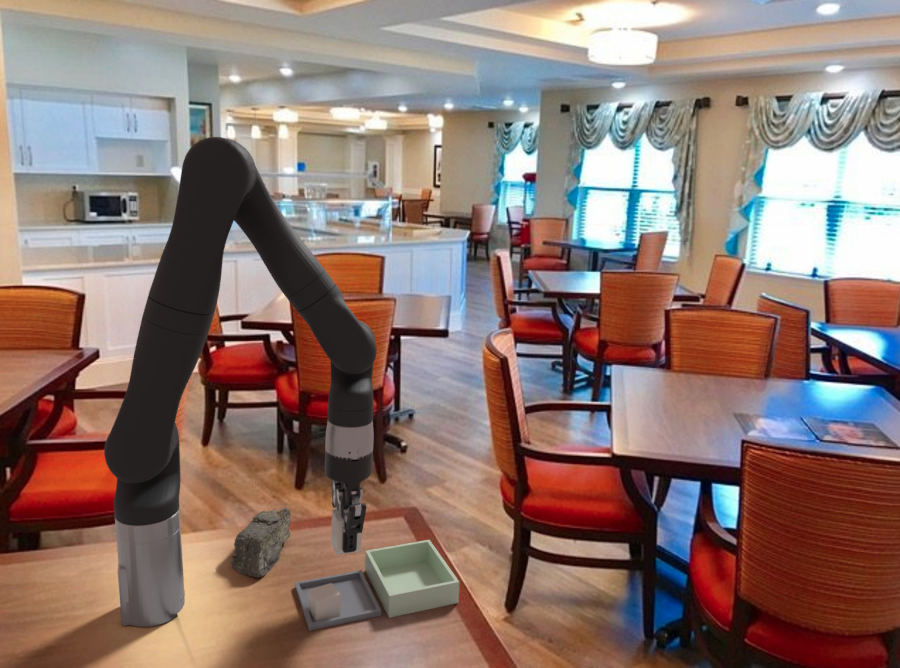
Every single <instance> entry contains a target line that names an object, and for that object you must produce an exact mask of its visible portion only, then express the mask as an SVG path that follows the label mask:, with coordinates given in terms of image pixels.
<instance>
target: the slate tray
mask: <svg viewBox="0 0 900 668" xmlns="http://www.w3.org/2000/svg"><path fill="white" fill-rule="evenodd" d="M329 583H332V584H333V586H334V587H335V588H336V589H337V591H338V592H339V593H340V617H335V618H330V619H325V620H321V621H316V622H315V621H314V620H313V619H312V617H311V616H310V614H309V611H308V590H309V589H313V588H316V587H319V586H323V585H326V584H329ZM294 588H295V591H296V594H297V597H298V602H299V604H300V606H301V610H302V612H303V615H304V620H305V621H306V624H307V628H308V631H309V632H310V631H316V630H318V629H323V628H329V627H334V626H338V625H342V624H343V625H344V624H348V623H353V622H357V621H360V620H361V621H362V620H366V619H372V618H375V617H380V616H382V609H381V607H380V605H379V603H378V601H377V599H376V597H375V595H374V593H373V591H372V589H371V586H370V584H369V583H368V581H367V579H366V577H365V575H364V573H363V570H361V569H360V570H355V571H350V572H344V573H339V574H332V575H327V576H322V577H317V578H311V579H306V580H301V581H295V582H294Z"/></svg>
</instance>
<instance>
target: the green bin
mask: <svg viewBox="0 0 900 668" xmlns="http://www.w3.org/2000/svg"><path fill="white" fill-rule="evenodd" d="M364 557H365V560H364V561H365V562H364V564H365V568H364V569H365V574H366V575H367V577H368V579H369V581H370V583H371V585H372V587H373V589H374V591H375V593H376V595H377V597H378V599H379V600H380V603H381V605H382V607H383V609H384V611H385V613H386V614H387V617H388V618H389V619H390V618H394V617H401V616H405V615H409V614H413V613H418V612H423V611H426V610H427V611H429V610H432V609H436V608H442V607H445V606H447V607H448V606H451V605H456V604H460V603H459V599H460V598H459V597H460V581H459V579H458V578H457V576H456V575H455V574H454V572H453V571H452V569H451V568H450V567H449V565H448V564H447V562H446V561H445V559H444V558H443V556H442V555H441V554H440V552H439V551H438V550H437V548H436V547H435V545H434V544H433V542H432V541H431V539H425V540H419V541H415V542H409V543H402V544H397V545H392V546H385V547H379V548H375V549H368V550H365V556H364Z"/></svg>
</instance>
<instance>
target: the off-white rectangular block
mask: <svg viewBox="0 0 900 668" xmlns="http://www.w3.org/2000/svg"><path fill="white" fill-rule="evenodd" d="M344 512H348V510H344ZM342 527H343V521H342V518H341V517H340V516H339V510H337V509H335V508H334V509H331V531H330V532H331V533H330V534H331V536H330V544H331V546H332V548H333V550H334V552H335V555H336V556H343V555H347V554H355V553H361V552H362V537H363V535H362V534H363V532H362V533H357V549H356V551H354V552H348V553H344V552H343V550H342V541H343V530H342Z"/></svg>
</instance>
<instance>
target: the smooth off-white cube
mask: <svg viewBox="0 0 900 668" xmlns="http://www.w3.org/2000/svg"><path fill="white" fill-rule="evenodd" d="M308 611H309V614H310V616H311V617H312V619H313V620H314V621H315V622H316V621H321V620H325V619H330V618H335V617H340V593H339V592H338V591H337V589H336V588H335V587H334V586H333V584H332V583H329V584H326V585H323V586H319V587H316V588H313V589H309V590H308Z"/></svg>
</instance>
